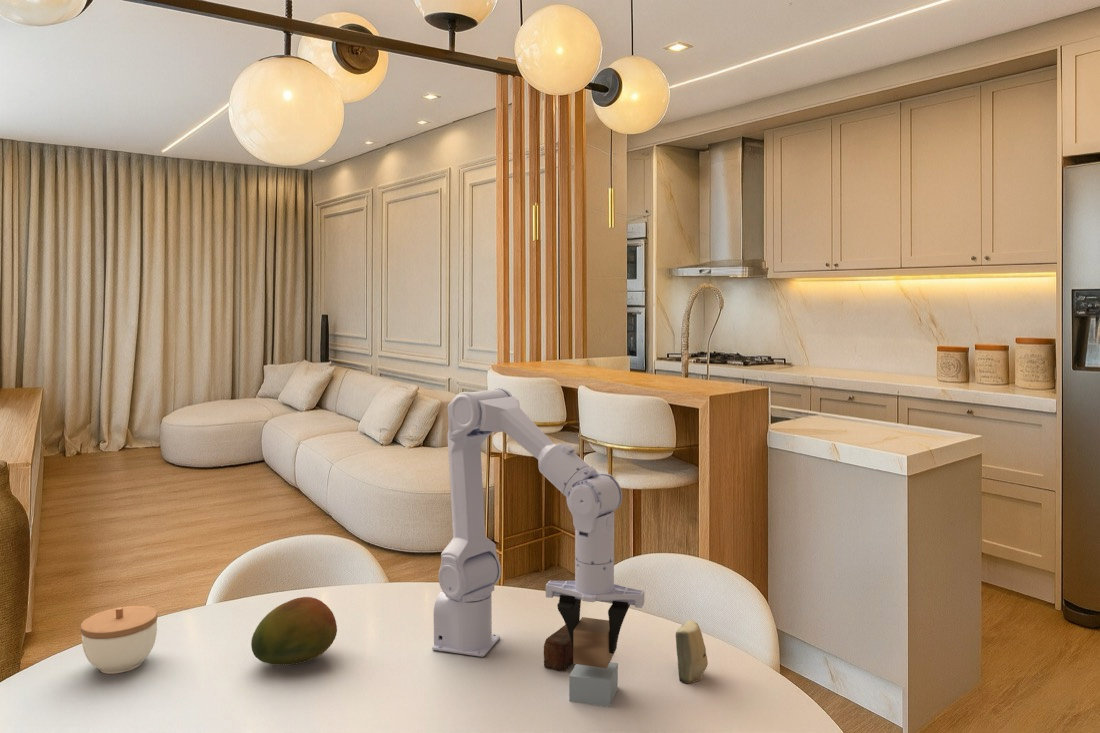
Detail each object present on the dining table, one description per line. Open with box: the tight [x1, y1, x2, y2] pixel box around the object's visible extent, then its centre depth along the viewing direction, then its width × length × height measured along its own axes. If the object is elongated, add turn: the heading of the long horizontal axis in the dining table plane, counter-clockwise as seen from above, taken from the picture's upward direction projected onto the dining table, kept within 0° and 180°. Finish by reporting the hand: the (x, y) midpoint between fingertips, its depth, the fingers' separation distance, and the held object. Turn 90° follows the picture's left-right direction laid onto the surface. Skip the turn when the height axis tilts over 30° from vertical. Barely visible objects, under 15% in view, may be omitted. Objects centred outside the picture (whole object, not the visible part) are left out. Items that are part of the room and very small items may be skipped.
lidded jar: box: [79, 605, 158, 675], centre depth 121 cm, size 11×11×9 cm
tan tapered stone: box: [675, 619, 708, 684], centre depth 117 cm, size 6×5×8 cm
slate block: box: [568, 661, 619, 708], centre depth 112 cm, size 6×6×4 cm
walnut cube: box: [572, 616, 615, 668], centre depth 111 cm, size 5×5×5 cm
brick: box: [543, 623, 574, 672], centre depth 124 cm, size 11×4×5 cm, turn 152°
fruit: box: [250, 596, 338, 666], centre depth 122 cm, size 12×13×10 cm
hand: (594, 648), depth 111 cm, fingers closed on walnut cube, 5 cm apart
